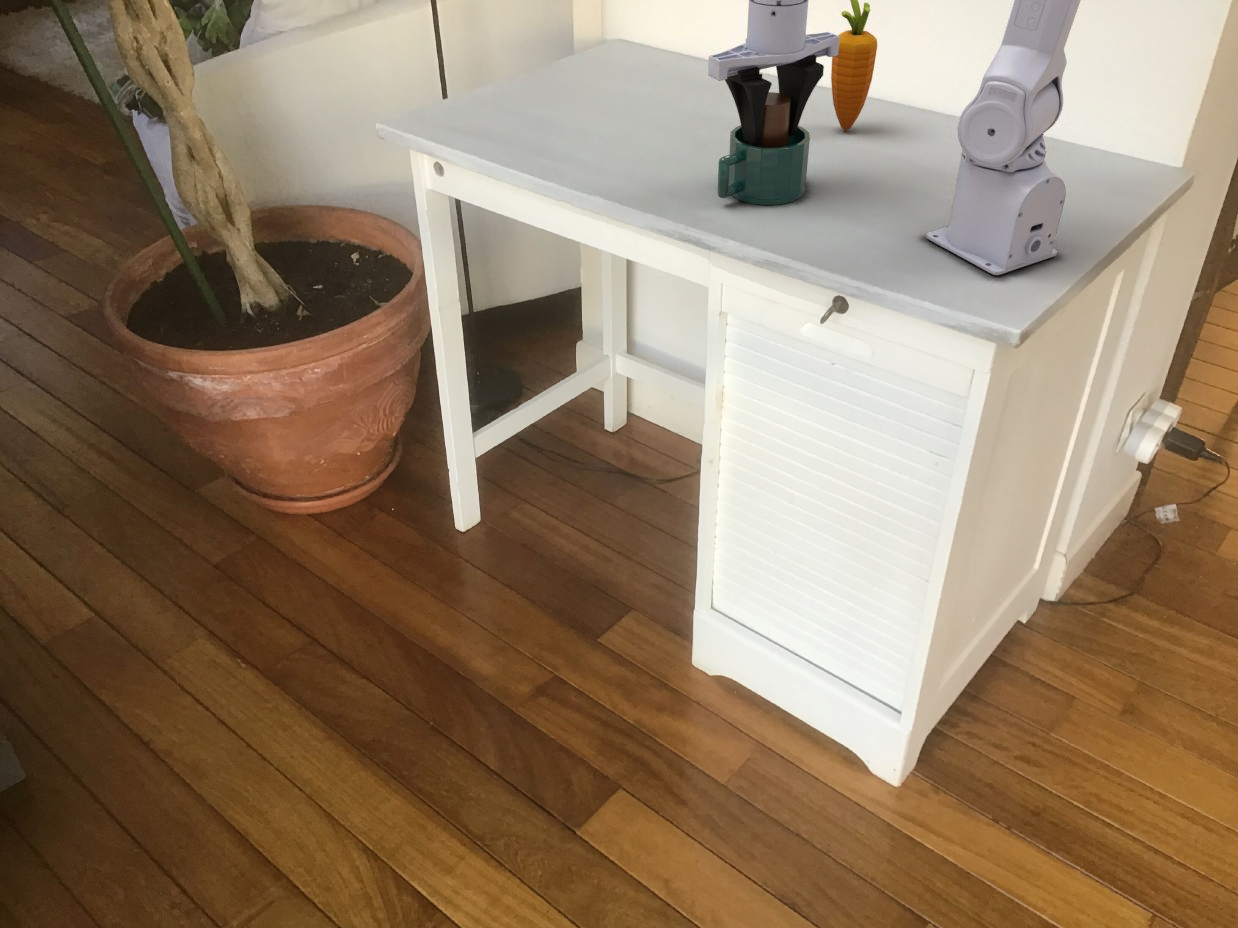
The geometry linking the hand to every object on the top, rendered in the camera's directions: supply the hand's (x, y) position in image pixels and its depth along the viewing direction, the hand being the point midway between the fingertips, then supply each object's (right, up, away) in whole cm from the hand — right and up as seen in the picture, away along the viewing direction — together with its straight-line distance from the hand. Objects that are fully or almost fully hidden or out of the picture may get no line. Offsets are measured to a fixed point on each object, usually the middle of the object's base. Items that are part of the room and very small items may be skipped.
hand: (769, 137), depth 107 cm
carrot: (+12, +6, +17) cm, 21 cm away
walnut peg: (0, -2, +1) cm, 2 cm away
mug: (-1, -5, +3) cm, 6 cm away
